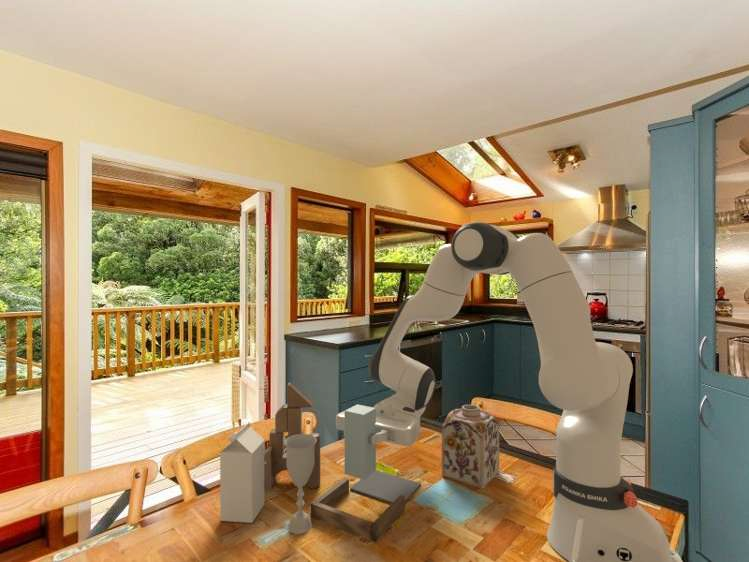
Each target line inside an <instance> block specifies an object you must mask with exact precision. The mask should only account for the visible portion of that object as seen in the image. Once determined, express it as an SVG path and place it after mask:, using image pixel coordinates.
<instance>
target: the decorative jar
mask: <svg viewBox="0 0 749 562" xmlns="http://www.w3.org/2000/svg"><path fill="white" fill-rule="evenodd" d="M441 427H442V434H441V475H442V476H443V477H445V478H449V479H452V480H454V481H457V482H460V483H463V484H465V483H466V485H468V486H472V487H475V488H477V489H480V490H483V489H484V488H485V487H487V485H488V484H489V483H490V482H491V481H492V480H493V478H494V477H496V475H497V474H498V473H499V472H500V423H499V422H498V420H497V419H496V418H495V416H494V415H492V414H491V413H490V412H488V411H487V410H483V409H481V408H480V406H478V405H475V404H463V405H461V408H455V409H453V410H450V411H449V412H448V414H447V416H446V418H445V420H444V422H443V423H442V426H441Z"/></svg>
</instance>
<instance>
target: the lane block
mask: <svg viewBox="0 0 749 562" xmlns="http://www.w3.org/2000/svg"><path fill="white" fill-rule="evenodd" d="M373 407H374V406H367V405H362V404H358V403H357V404H355V405H353V406H351V407H349V408H348V409H345V410H344V411H345V437H344V475H347V476H350V477H354V478H357V479H359V480H361V479H363V480H364V479H366V478H367V477H368V476H369V475H370V474H372V473H373V472H374V471H375V470H377V463H376V462H377V452H376V451H377V443H376V444H375V445H373V444H370V443H368V436H369V435H371V433H374V434H376V408H373Z"/></svg>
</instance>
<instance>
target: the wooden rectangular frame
mask: <svg viewBox="0 0 749 562" xmlns="http://www.w3.org/2000/svg"><path fill="white" fill-rule="evenodd" d="M348 492H350V478H348V477H344V478H342V479H341V480H340V481H338V482H337V483H336V484H334V485H333V486H332V487H330V488H329V489H327V490H326V491H325V492H324V493H322V494H321V495H320V496H318V497H317V498H316V499H315V500H313V501H312V502H310V518H312V519H314V520H317V521H319V522H322V523H325V524H327V525H329V526H332V527H334V528H336V529H340V530H342V531H345V532H347V533H349V534H352V535H354V536H357V537H359V538H362V539H364V540H367V541H370V542H372V543H375V544H376V543H377V542H378V541H379V540H380V538H381V537H382V536H383V535H384V534H385V533H386V531H388V529H389V528H390V527H391V526H392V525H393V523H394V522H395V521H397V519H398V518H399V517H400V516H401V515H402V514H403V513H404V512H405V510H406V502H405V496H402V495H400V496H399V497H398V498H397V499H396V500H395V501H394V502H393V503H392V504H391V503H390V505H389V506H388V507H386V509H385V510H384V511H383V512H382V513H381V514H380V515H379V516H378V517H377V518H376V519H375V520H374V521H373V522H372V521H370V520H366V519H365V518H362V517H359V516H356V515H354V514H351V513H349V512H345V511H343V510H340V509H338V508H335V507H332V505H334V504H335V503H336V502H337V501H339V500H340V499H341V498H342V497H344V496H345V495H346V494H347V493H348Z"/></svg>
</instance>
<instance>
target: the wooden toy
mask: <svg viewBox="0 0 749 562" xmlns="http://www.w3.org/2000/svg"><path fill="white" fill-rule="evenodd" d="M286 385H287V386H286V388H287V389H286V393H287V395H286V396H287V397H286V398H287V399H286V400H287V403H284V404H282V405H281V406H280V408H279V409H278V410H277V411H276V413H275V414H274V415H275V416H274V417H275V418H274V419H275V421H274V424H275V425H274V426H275V427H274V428H271V430H270V433H269V437H268V439H269V446H268V447H267V448H266V449H264V491H272V489H273V486H274V483H275V481H276V479H277V476H278V474H280V473H281V472H284V471H288V469H287V466H286V452H285V444H284V440H285V433H287V438H288V437H290V436H292V435H297V434H304V432H303V408H312V406H313V403H312V401H311V400H309V398H307V397H306V395H304V394H303V393H302V392H301V391H300V390H299V389H298V388H297V387H296V386H295V385H294V384H292V382H288V384H286ZM308 435H312V436H314V437H315V438H316V439H317V441H316V444H315V446H314V467H313V470H312V473H311V475H310V477H309V479H308V482H307V484H306V485H307V487H308V488H309V489H317V488H319V487H320V486H321V435H320V433H318V432H312V433H308Z"/></svg>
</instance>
